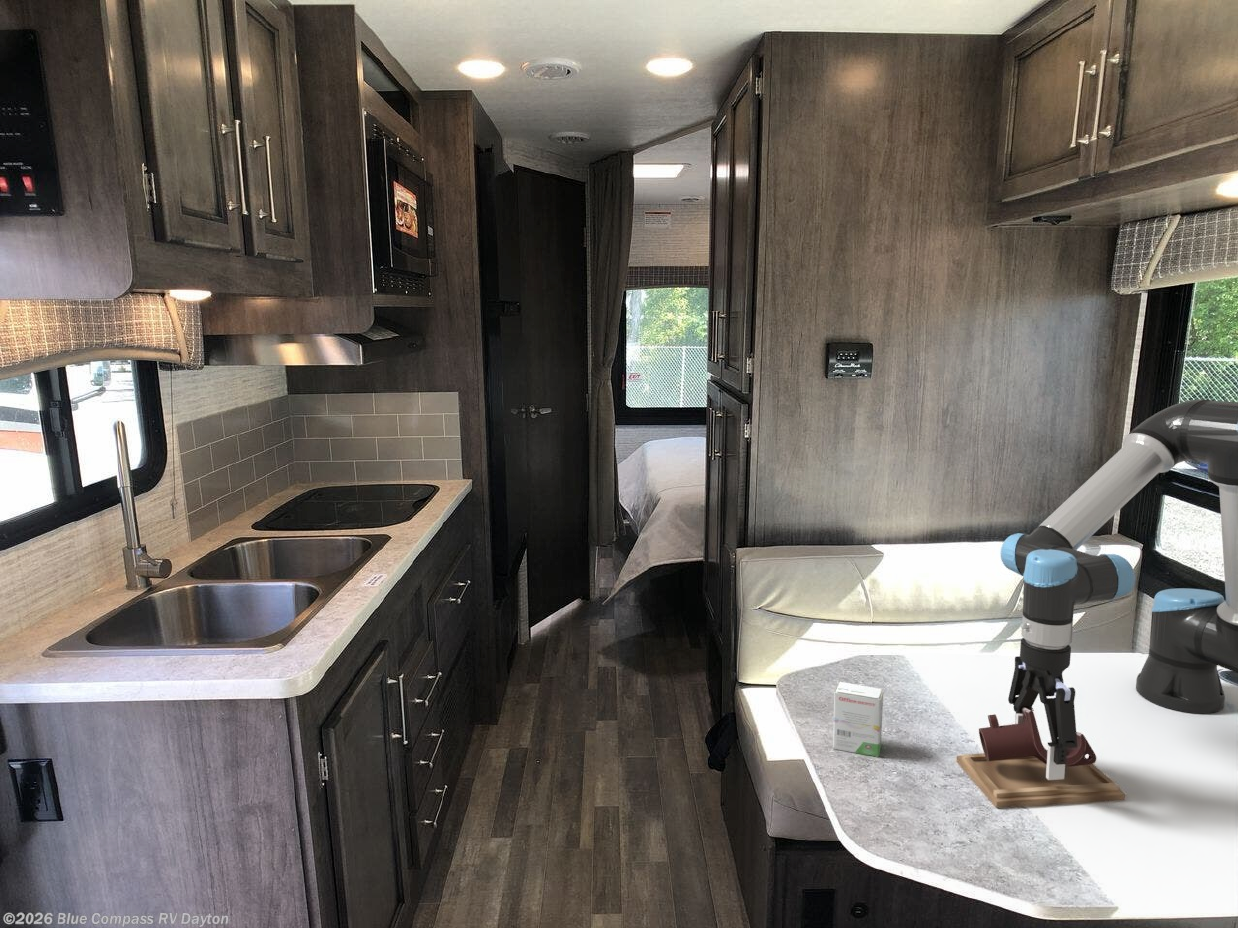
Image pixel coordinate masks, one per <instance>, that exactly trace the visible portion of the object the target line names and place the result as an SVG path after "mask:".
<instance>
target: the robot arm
mask: <svg viewBox="0 0 1238 928" xmlns="http://www.w3.org/2000/svg"><path fill="white" fill-rule="evenodd" d="M1122 446H1123V447H1121V448H1120V449H1119V450H1118V451H1117V452H1116V453H1115V454H1114V455H1113V456H1112V457H1110V458H1109V460H1107V461H1106V463H1104V464H1103V465H1102V466H1101V467H1099V469H1098V470H1097V471H1096V472H1095V473H1093V474H1092V475H1091V477H1089V478H1088V480H1086V481H1085V482H1084V483H1083V484H1082V485H1081V486H1080V487H1079V488H1078V489H1077V490H1075V491H1074V492H1073V494H1071V495H1070V496H1069V497H1068V498H1067V499H1066V500H1065V501H1064V502H1062V503H1061V505H1059V507H1057V508H1056V509H1055V510H1054V511H1053V512H1052V513H1051V514H1050V515H1049V516H1048V517H1047V518H1045V519H1044V520H1043V521H1042V523H1040V524H1039V525H1038V526H1037V528H1035V529H1034V530H1033V531H1032V532H1031V533H1030V534H1028V533H1019V532H1018V533H1013V534H1011V535H1009V536H1008V537H1006V539H1005V540H1004V541H1003V543H1002V544H1001V545H1002V546H1001V547H1000V548H1001V549H1000V559H1001V560H1000V561H1001V562H1002V564H1003V565H1004V566H1005V568H1006V569H1008V570H1009V571H1012V572H1014V573H1016V574H1017V575H1019V576H1021V577H1023V593H1022V594H1023V595H1022V596H1023V598H1022V600H1023V601H1022V618H1021V620H1022V621H1021V624H1020V627H1021V637H1022V638H1021V639H1020V649H1019V650H1020V651H1019V656H1015V657H1014V669H1013V670H1014V672H1013V676H1012V679H1011V685H1010V689H1009V693H1008V699H1007V700H1008V704H1010V705H1013V711H1014V712H1015V721H1014V724H1020V723H1024V720H1023V714H1022V707H1025V708H1027V709H1029V710H1031V711H1033V712H1034V711H1035V709H1034V708H1033V705H1035V704H1034V703H1035V702H1036V699H1037V698H1038V696H1039V700H1040V703H1041V704H1043V706H1044V711H1045V715H1046V720H1047V726H1048V729H1049V735H1050V741H1049V742H1047V750H1048V752H1047V768H1046V778H1047V779H1048V780H1059V779H1064V774H1065V764H1066V756H1067V748H1077V734H1076V732H1077V724H1076V723H1077V722H1076V712H1075V710H1076V709H1075V699H1076V689H1075V688H1074V687H1068V686H1066V684H1064V679H1063V678H1064V677H1063V672H1064V671H1065V670H1066V669H1068V668H1070V665H1071V656H1072V655H1071V654H1072V653H1071V651H1072V647H1071V646H1070V645H1071V644H1072V642H1073V625H1074V611H1075V610H1074V609H1075V606H1077V605H1078V606H1079V605H1084V604H1091V603H1096V602H1097V603H1098V602H1102V601H1103V602H1104V601H1112V600H1114V599H1117V598H1121V597H1124V596H1126V595H1128V594H1130V593H1131V592H1132V591H1133V588H1135V583H1136V574H1135V571H1134V567H1133V566H1132V564H1131V563H1130V562H1129V561H1128V560H1127V558H1124V557H1123V556H1122V555H1119V554H1115V553H1112V554H1111V553H1109V554H1108V553H1101V554H1099V555H1094V554H1091V553H1090V554H1089V553H1086V552H1083V551H1080V550H1078V549H1080V547H1082V545H1084V543H1086V542H1087V541H1088V540H1089V539H1090V538H1092V536H1094V534H1095V533H1096V532H1098V530H1099V529H1101V528H1102V527H1103V526H1104V525H1105V524H1106V523H1107V522H1108V521H1109V520H1110V519H1111V518H1112V517H1114V515H1115V514H1117V513H1118V512H1119V511H1120V510H1121V509H1122V508H1123V507H1124V506H1125V505H1126V504H1127V503H1128V502H1129V501H1130V500H1132V498H1134V496H1136V495H1137V494H1138V493H1139V492H1140V491H1141V490H1142V489H1143V488H1144V487H1145V486H1146V485H1147V484H1148V483H1149V482H1150V481H1151V480H1153V479H1154V478H1155V477H1156V476H1157V475H1158V474H1160V473H1167V472H1169V471H1170V470H1171V469H1173V467H1174V468H1175V466H1176V465H1178V464H1179V463H1183V462H1188V461H1191V462H1192V461H1193V462H1197V463H1203V464H1204V463H1205V464H1206V466H1207V477H1208V480H1209V481H1210V482H1211V483H1213V484H1214V485H1216V486H1217V487H1218V489H1219V490H1218V491H1219V504H1220V505H1219V507H1220V525H1221V537H1222V555H1223V556H1222V557H1223V572H1224V573H1223V574H1224V588H1225V589H1224V591H1225V592H1224V593H1225V597H1224V595H1222V594H1221V593H1219V592H1216V591H1213V590H1207V589H1201V588H1185V587H1183V588H1168V589H1167V588H1166V589H1163V590H1160V591H1158V592H1157V593H1155V595H1154V598H1153V604H1152V608H1151V623H1150V633H1149V634H1150V635H1149V647H1148V656H1147V657H1146V660H1145V662H1144V664H1143V666H1142V669H1141V670H1140V673H1138V675H1137V676H1136V680H1135V683H1136V684H1135V690H1136V692H1137V693H1138V694H1139V695H1140V696H1141V697H1142V698H1144V699H1145V700H1146V701H1149V702H1151V703H1153V704H1155V705H1158V706H1161V707H1163V708H1167V709H1171V710H1174V711H1179V712H1185V713H1191V714H1193V713H1194V714H1213V713H1217V712H1219V711H1220V712H1221V711H1222V710H1223V708H1224V707H1225V696H1226V695H1225V691H1224V690H1223V685H1222V682H1221V679H1220V676H1219V671H1218V667H1221V668H1223V669H1225V670H1229V671H1232V672H1234V673H1236V674H1238V401H1224V400H1211V399H1201V398H1199V399H1198V398H1197V399H1192V400H1191V399H1190V400H1186V401H1182V402H1179V403H1176V404H1173V405H1171V406H1168V407H1167V408H1164V409H1162V410H1160V411H1157V413H1154V414H1153V415H1151V416H1150V417H1148V418H1146V419H1145V420H1144V421H1143V422H1141V423H1140V424H1138V425H1137V426H1136V427H1135V428H1133V429H1132V430H1131V431H1130V432H1129V433H1127V434H1126V435H1125V437H1124V438H1123V441H1122ZM1054 696H1055V697H1054ZM1048 697H1049V698H1048ZM1050 697H1051V698H1050Z"/></svg>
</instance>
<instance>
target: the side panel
mask: <svg viewBox="0 0 1238 928" xmlns="http://www.w3.org/2000/svg"><path fill="white" fill-rule="evenodd" d="M1046 750H1047V751H1048V749H1046ZM1085 758H1086V759H1087V758H1088V757H1085ZM956 764H958V765H959V767H960V768H961V769H962V770H963V772H965V774H966V775H967V776H968V777H969V778H970V780H972V782H973V783H974V784H975V786H977V787H978V789H979V790H980V791H981V793H983V795H984V796H985V797H986V798H987V799H988V801H989V802H990V803H991V804H992V805H993V806H994V807H995V809H1003V808H1005V809H1006V808H1022V807H1023V808H1024V807H1036V806H1053V805H1069V804H1071V805H1072V804H1084V803H1088V804H1089V803H1099V802H1100V803H1101V802H1102V803H1103V802H1105V803H1106V802H1117V801H1118V802H1119V801H1126V792H1125V791H1123V790H1122V789H1121V788H1119V787H1120V786H1119V785H1118V784H1117V783H1116V782H1115V781H1114V780H1112V779H1111V778H1110V777H1109V776H1107V774H1105V773H1104V772H1103V771H1102V770H1101V769H1100V768H1098V767H1097V766H1096V765H1095V763H1094V764H1091V765H1082V766H1073V767H1065V774H1064V779H1059V780H1048V779H1047V778H1046V768H1047V765H1046V764H1045V763H1043V762H1042V761H1040V760H1039V759H1037V758H1036V757H1034V756H1031V757H1022V758H1013V759H1004V760H994V761H987V759H986V757H985V754H984V752H982V753H970V754H969V753H968V754H967V753H966V754H961V755H956Z"/></svg>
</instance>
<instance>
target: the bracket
mask: <svg viewBox="0 0 1238 928" xmlns="http://www.w3.org/2000/svg"><path fill="white" fill-rule="evenodd" d="M1022 714H1023V720H1024V723H1020V724H1015V723H1012V724H1003V725H1000V724H999V720H998V716H997V714H995V713H994V714H988V715H987V719H988V724H989V726H987V727H980V728H978V735H979V739H980V740H979V741H980V744H981V748H982V750H983V753H984V754H985V757H986V759H987V761H994V760H1004V759H1013V758H1022V757H1031V756H1034V757H1036V758H1037V759H1039V760H1040V761H1042V762H1043V763H1045V764H1046V765H1047V752H1048V751H1047V750H1048V749H1046V748H1045V746H1044V745H1043V743H1042V739H1041V735H1040V731H1039V728H1038V724H1037V720H1036V717H1035V716H1036V715H1035V713H1034V711H1031V710H1029V709H1027V708H1025V707H1022ZM1076 734H1077V748H1067V756H1066V764H1065V767H1073V766H1082V765H1091V764H1094V765H1095V763H1096V762H1097V755H1096V753H1095V752H1094V750H1093V748H1092V746H1091V745H1090V743H1089V742H1088V740H1087V738H1086V737H1085V736H1086V735H1084V734H1083V733H1082V732H1078V731H1076ZM1087 755H1088V757H1086V756H1087ZM1086 758H1087V759H1086Z"/></svg>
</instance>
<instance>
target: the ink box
mask: <svg viewBox="0 0 1238 928" xmlns="http://www.w3.org/2000/svg"><path fill="white" fill-rule="evenodd" d="M833 695H834V696H833V724H832V725H833V729H832V730H833V731H832V732H833V733H832V734H833V736H832V748H833V749H834V750H839V751H844V752H850V753H854V754H859V755H865V756H870V757H876V758H879V757H880V753H881V748H882V731H883V710H884V709H883V706H884V689H883V688H879V687H872V686H866V685H860V684H856V683H849V682H844V681H838V683H837V685H836V686H835V689H834V692H833Z"/></svg>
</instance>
